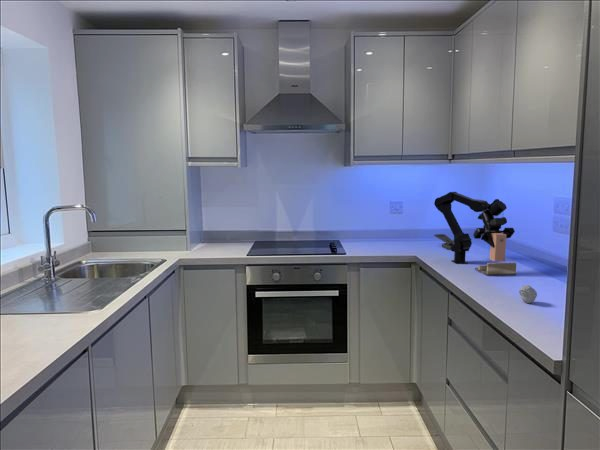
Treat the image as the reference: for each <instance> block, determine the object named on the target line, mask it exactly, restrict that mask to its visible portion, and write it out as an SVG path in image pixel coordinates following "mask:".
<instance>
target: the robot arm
mask: <svg viewBox="0 0 600 450" xmlns="http://www.w3.org/2000/svg"><path fill="white" fill-rule="evenodd" d="M453 202H457V203H460V204H462V205H465V206H468V207H469V209H470V210H471V211H474V212H475V213H479V215H478V216H477V219H478V220H482V223H483V226H482V227H476V229H475V231H474V233H473V235H472V236H473V237H474V238H473V239H475V240H476V239H477V240H478V239H479V240H481V241H484V242H485V243H487V244H488V245H489V246H490V245H491V246H492V247H493V248H494V247H495V245H494V242H493V240H492V237H491V233H503V234H506V239H510V238H511V237H512V236H513V235H514V233H515V232H516V231H515V228H514V227H504V228H503V230H501V229H502V226H504V225H507V223H508V220H507V218H506V216H505V217H504V216H502V217H498V216H500V215H501V214H502V213H503V212H504V211H506V209H508V207H507V205H506V203H505V202H503V201H501V200H500V198H495V199H494V200H493V201H492V203H488V201H487V200H483V199H477V198H476V199H475V198H472V197H469V196H466V195H464V194H461V193H458V191H449V192H447V193H446V194H444V195H441V196H439V197H436V198H435V200H434V203H433V204H434V206H435V208H436V209H437V210H438V212H440V213H441V214H442V215H443V217H444V219H445V220H446V222H447V225H448V226H449V228H450V231H451V233H452V234H453V240H454V243H455V244H454V245H453V246H452V247H451V250H450V251H451V252H454V255H453V258H454V259H452V260H451V262H453V263H455V264H468V262H467V261H466V252H469V251H470V248H471V247H472V244H473V241H472V238H471V237H470V234H469V233H465V232H463V230H462V228H461V226H460V224H459V222H458V221H457V218H456V216H455V215H454V213H453V210H452V203H453Z"/></svg>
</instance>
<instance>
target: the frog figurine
mask: <svg viewBox="0 0 600 450" xmlns="http://www.w3.org/2000/svg"><path fill="white" fill-rule="evenodd" d="M518 293H519V296H520V298H521V300H522V301H523V302H524V303H526V304H532V303H534V301H536V298H537V297H538V293H537V291H536V289H535V288H533V287H532V286H531V285H528V284H526V285H522V286H521V288H520V289H519V291H518Z"/></svg>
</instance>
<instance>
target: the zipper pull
mask: <svg viewBox="0 0 600 450" xmlns="http://www.w3.org/2000/svg"><path fill="white" fill-rule="evenodd" d="M433 236H434V237H435V238H437V239H438V240H441V241H442V242H444V243H441V248H443V249H444V250H446V251H451V247H452V246H453V245H454V244H455V243H454V239H452V238H451V237H449V236H448V235H446V234H445V233H443V234H441V233H439V234H438V233H437V234H434V235H433Z"/></svg>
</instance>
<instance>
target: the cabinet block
mask: <svg viewBox="0 0 600 450" xmlns="http://www.w3.org/2000/svg"><path fill="white" fill-rule="evenodd" d="M491 237H492V240H493V242H494V245H495V247H494V248H493V247H492V246H491V245H489V246H490V247H489V260H490V261H492V262H506V248H507V238H506V234H503V233H491Z"/></svg>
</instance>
